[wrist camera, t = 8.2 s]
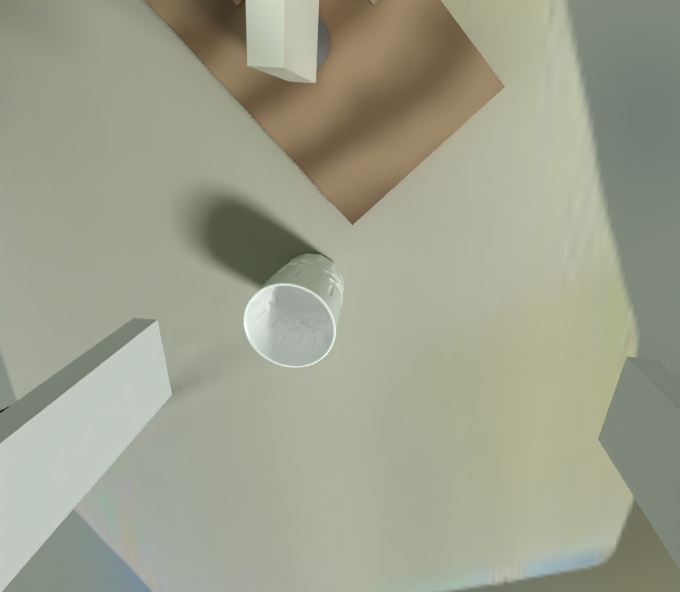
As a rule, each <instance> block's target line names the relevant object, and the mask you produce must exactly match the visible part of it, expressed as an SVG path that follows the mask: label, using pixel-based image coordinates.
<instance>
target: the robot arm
mask: <svg viewBox="0 0 680 592" xmlns="http://www.w3.org/2000/svg"><path fill="white" fill-rule="evenodd" d="M171 395H172V393H171V388H170V383H169V378H168V372H167V367H166V362H165V357H164V352H163V347H162V342H161V337H160V331H159V326H158V321H157V320H153V319H140V318H133V319H132V320H130V321H129V322H128V323H126V324H125V325H123V326H122V327H121V328H119V329H118V330H116V331H115V332H114V333H112V334H111V335H109V336H108V337H107V338H105V339H104V340H102V341H101V342H100V343H98V344H97V345H95V346H94V347H93V348H91V349H90V350H88V351H87V352H86V353H84V354H83V355H81V356H80V357H79V358H77V359H76V360H74V361H73V362H72V363H70V364H69V365H67V366H66V367H65V368H63V369H62V370H60V371H59V372H57V373H56V374H55V375H53V376H52V377H50V378H49V379H48V380H46V381H45V382H43V383H42V384H41V385H39V386H38V387H36V388H35V389H34V390H32V391H31V392H29V393H28V394H27V395H25V396H24V397H22V398H21V399H20V400H18V401H17V402H15V403H14V404H13V405H11V406H9V407H7V408H5V409H3V410H1V411H0V592H2V591H3V589H4V588H5V587H6V586H7V585H8V584H9V583H10V581H11V580H12V579H13V578H14V577H15V576H16V574H17V573H18V572H19V571H20V570H21V569H22V567H23V566H24V565H25V564H26V563H27V562H28V561H29V559H30V558H31V557H32V556H33V555H34V554H35V552H36V551H37V550H38V549H39V548H40V547H41V545H42V544H43V543H44V542H45V541H46V539H48V537H49V536H50V535H51V534H52V533H53V531H54V530H55V529H56V528H57V527H58V526H59V525H60V523H61V522H62V521H63V520H64V519H65V518H66V516H67V515H68V514H69V513H70V512H71V511H72V510H73V508H74V507H75V506H76V505H77V504H78V503H79V501H80V500H81V499H82V498H83V497H84V496H85V494H86V493H87V492H88V491H89V490H90V489H91V488H92V486H93V485H94V484H95V483H96V482H97V481H98V479H99V478H100V477H101V476H102V475H103V474H104V472H105V471H106V470H107V469H108V468H109V467H110V465H111V464H112V463H113V462H114V461H115V460H116V459H117V457H118V456H119V455H120V454H121V453H122V452H123V450H124V449H125V448H126V447H127V446H128V445H129V443H130V442H131V441H132V440H133V439H134V438H135V437H136V435H137V434H138V433H139V432H140V431H141V430H142V428H143V427H144V426H145V425H146V424H147V423H148V421H149V420H150V419H151V418H152V417H153V416H154V414H155V413H156V412H157V411H158V410H159V409H160V408H161V406H162V405H163V404H164V403H165V402H166V401H167V399H168V398H169V397H170V396H171ZM598 439H599V441H600V443H601V444H602V446H603V447H604V449H605V451H606V452H607V454H608V455H609V457H610V459H611V460H612V462H613V463H614V465H615V467H616V468H617V470H618V471H619V473H620V475H621V476H622V478H623V480H624V481H625V483H626V484H627V486H628V488H629V489H630V491H631V492H632V494H633V496H634V497H635V499H636V500H637V502H638V503H639V505H640V507H641V508H642V510H643V512H644V513H645V515H646V516H647V518H648V520H649V521H650V523H651V524H652V526H653V528H654V529H655V531H656V532H657V534H658V536H659V537H660V539H661V540H662V542H663V544H664V545H665V547H666V548H667V550H668V552H669V553H670V555H671V557H672V558H673V560H674V561H675V562H676V565H677V566H678V568H679V569H680V379H679V377H678V376H677V375H676V374H674V373H673V372H672V371H671V370H670V369H669V368H668V367H667V366H665V364H663V363H662V362H661V361H660V360H659V359H647V358H635V357H626V360H625V363H624V366H623V369H622V372H621V375H620V378H619V380H618V383H617V386H616V389H615V392H614V395H613V398H612V401H611V404H610V407H609V409H608V412H607V415H606V418H605V421H604V424H603V427H602V430H601V433H600V436H599V438H598Z"/></svg>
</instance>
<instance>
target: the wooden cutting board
mask: <svg viewBox="0 0 680 592" xmlns="http://www.w3.org/2000/svg"><path fill="white" fill-rule="evenodd" d="M146 1H147V2H148V3H149V4H150V5H151V7H152V8H153V9H154V10H155V11H156V12H157V13H158V14H159V15H160V16H161V17H162V18H163V20H164V21H165V22H166V23H167V24H168V25H169V26H170V27H171V28H172V29H173V30H174V31H175V33H176V34H177V35H178V36H179V37H180V38H181V39H182V40H183V41H184V42H185V43H186V45H187V46H188V47H189V48H190V49H191V50H192V51H193V52H194V53H195V54H196V55H197V56H198V58H199V59H200V60H201V61H202V62H203V63H204V64H205V65H206V66H207V67H208V68H209V70H210V71H211V72H212V73H213V74H214V75H215V76H216V77H217V78H218V79H219V80H220V81H221V83H222V84H223V85H224V86H225V87H226V88H227V89H228V90H229V91H230V92H231V93H232V94H233V96H234V97H235V98H236V99H237V100H238V101H239V102H240V103H241V104H242V105H243V106H244V108H245V109H246V110H247V111H248V112H249V113H250V114H251V115H252V116H253V117H254V118H255V119H256V121H257V122H258V123H259V124H260V125H261V126H262V127H263V128H264V129H265V130H266V131H267V133H268V134H269V135H270V136H271V137H272V138H273V139H274V140H275V141H276V142H277V143H278V144H279V146H280V147H281V148H282V149H283V150H284V151H285V152H286V153H287V154H288V155H289V156H290V158H291V159H292V160H293V161H294V162H295V163H296V164H297V165H298V166H299V167H300V168H301V169H302V171H303V172H304V173H305V174H306V175H307V176H308V177H309V178H310V179H311V180H312V181H313V182H314V184H315V185H316V186H317V187H318V188H319V189H320V190H321V191H322V192H323V193H324V194H325V196H326V197H327V198H328V199H329V200H330V201H331V202H332V203H333V204H334V205H335V206H336V207H337V209H338V210H339V211H340V212H341V213H342V214H343V215H344V216H345V217H346V218H347V219H348V221H349V222H350V223H351V224H352V225H353V224H354V223H355V222H356V221H357V220H358V219H360V218H361V217H362V216H363V215H364V214H365V213H366V212H367V211H368V210H369V209H371V208H372V207H373V206H374V205H375V204H376V203H377V202H378V201H379V200H380V199H382V198H383V197H384V196H385V195H386V194H387V193H388V192H389V191H390V190H391V189H393V188H394V187H395V186H396V185H397V184H398V183H399V182H400V181H401V180H402V179H404V178H405V177H406V176H407V175H408V174H409V173H410V172H411V171H412V170H414V169H415V168H416V167H417V166H418V165H419V164H420V163H421V162H422V161H423V160H425V159H426V158H427V157H428V156H429V155H430V154H431V153H432V152H433V151H434V150H436V149H437V148H438V147H439V146H440V145H441V144H442V143H443V142H444V141H445V140H447V139H448V138H449V137H450V136H451V135H452V134H453V133H454V132H455V131H456V130H458V129H459V128H460V127H461V126H462V125H463V124H464V123H465V122H466V121H467V120H469V119H470V118H471V117H472V116H473V115H474V114H475V113H476V112H477V111H478V110H480V109H481V108H482V107H483V106H484V105H485V104H486V103H487V102H488V101H489V100H491V99H492V98H493V97H494V96H495V95H496V94H497V93H498V92H499V91H501V90H502V89H503V88H504V87H505V86H504V85H503V84H502V82H501V81H500V80H499V78H498V77H497V76H496V74H495V73H494V72H493V70H492V69H491V68H490V66H489V65H488V63H487V62H486V61H485V59H484V58H483V57H482V55H481V54H480V53H479V51H478V50H477V49H476V47H475V46H474V45H473V43H472V42H471V41H470V39H469V38H468V37H467V35H466V34H465V33H464V31H463V30H462V29H461V27H460V26H459V25H458V23H457V22H456V21H455V19H454V18H453V17H452V15H451V14H450V13H449V11H448V10H447V8H446V7H445V6H444V4H443V3H442V2H441V0H319V15H318V41H317V68H316V83H303V82H289V81H286V80H284V79H281V78H278V77H276V76H273V75H270V74H268V73H265V72H263V71H260V70H257V69H255V68H252V67H250V66H247V35H246V0H146Z"/></svg>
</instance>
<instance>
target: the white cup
mask: <svg viewBox="0 0 680 592" xmlns="http://www.w3.org/2000/svg"><path fill="white" fill-rule="evenodd" d="M343 291H344V282H343V277H342V273H341V272H340V270H339V269H338V268H337V266H336V265H335V263H334V262H333V261H331V260H329V259H327V258H326V257H324V256H322V255H320V254H309V253H305V254H303V255H300V256H297V257H295V258H293V259H291V261H290V262H289V263H288V264H286V265H285V266H283V267H282V268H281V269H280V270H278V271H277V272H276V273H275V274H274V275H273V276H272V277H271V278H270V279H269V280H268V281H267V282H266V283H265V284H264V285H263V286H262V287H261V288H260V289H258V290H257V291H256V292H255V293H254V294H253V295H252V296H251V298H250V299H249V301H248V302H247V304H246V306H245V309H244V314H243V326H244V331H245V334H246V336H247V339H248V340H249V342H250V344H251V345H252V347H253V348H254V349H255V350H256V351H257V352H258V353H259V354H260V355H261V356H263V357H264V358H266V359H267V360H269V361H271V362H273V363H275V364H278V365H281V366H285V367H293V368H297V367H305V366H309V365H312V364H314V363H316V362H318V361H320V360H321V359H322V358H324V357H325V356H326V355H327V354H328V352H329V351H330V349H331V348H332V346H333V344H334V341H335V336H336V332H337V327H338V322H339V318H340V313H341V307H342V300H343Z"/></svg>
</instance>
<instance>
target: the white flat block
mask: <svg viewBox="0 0 680 592" xmlns="http://www.w3.org/2000/svg"><path fill="white" fill-rule="evenodd" d="M318 15H319V0H246V35H247V66H250V67H252V68H255V69H257V70H260V71H263V72H265V73H268V74H270V75H273V76H276V77H278V78H281V79H284V80H286V81H289V82H303V83H316V68H317V41H318Z"/></svg>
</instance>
